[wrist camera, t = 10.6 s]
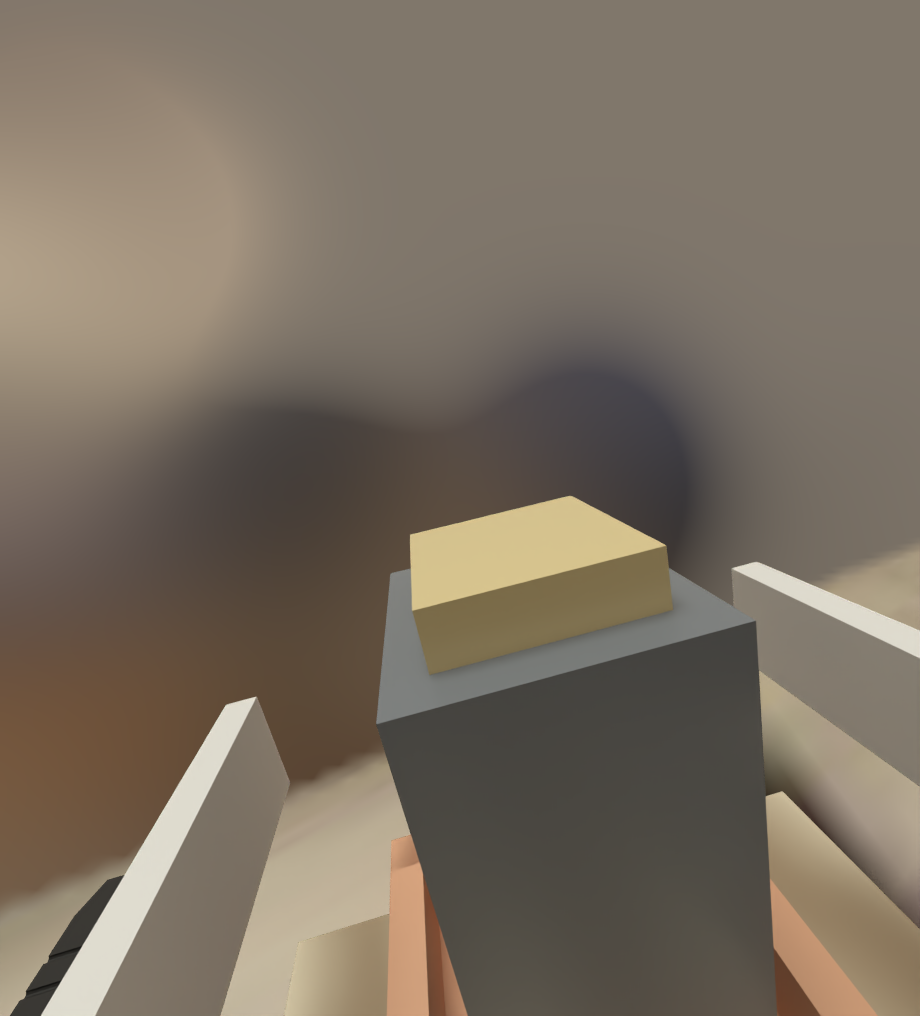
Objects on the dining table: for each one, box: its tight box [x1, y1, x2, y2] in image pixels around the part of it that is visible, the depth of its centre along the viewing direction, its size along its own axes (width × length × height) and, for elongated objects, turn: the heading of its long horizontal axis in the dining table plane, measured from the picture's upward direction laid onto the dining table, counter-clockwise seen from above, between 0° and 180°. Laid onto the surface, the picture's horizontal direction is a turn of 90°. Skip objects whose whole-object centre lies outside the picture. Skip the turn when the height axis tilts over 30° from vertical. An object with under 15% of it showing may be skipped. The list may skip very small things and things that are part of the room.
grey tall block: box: [376, 496, 777, 1016], centre depth 9 cm, size 5×5×13 cm
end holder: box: [387, 835, 878, 1016], centre depth 11 cm, size 10×9×3 cm
